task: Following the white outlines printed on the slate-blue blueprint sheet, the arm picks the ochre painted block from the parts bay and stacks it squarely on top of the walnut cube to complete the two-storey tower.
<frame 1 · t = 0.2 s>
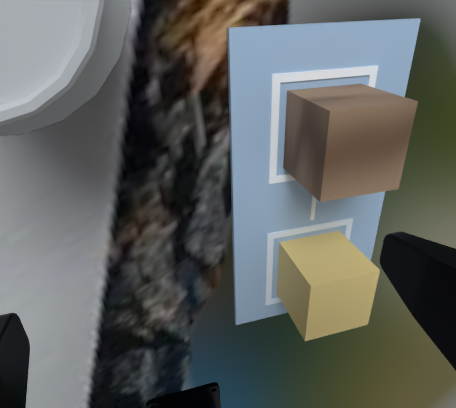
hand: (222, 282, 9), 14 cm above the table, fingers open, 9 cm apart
blueprint sheet: (311, 193, 26), on the table
walnut cube: (320, 126, 23), resting on blueprint sheet
ochre block: (307, 262, 29), resting on blueprint sheet
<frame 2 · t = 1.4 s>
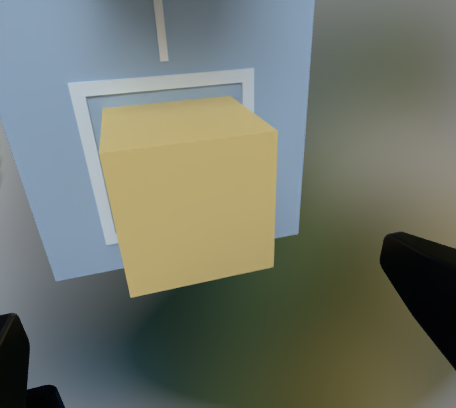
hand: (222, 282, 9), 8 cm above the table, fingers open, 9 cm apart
ochre block: (175, 161, 15), resting on blueprint sheet
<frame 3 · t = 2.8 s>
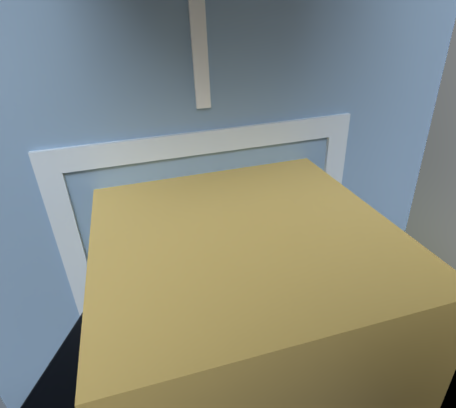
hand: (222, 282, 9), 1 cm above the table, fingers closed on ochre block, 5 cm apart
ochre block: (213, 260, 10), resting on blueprint sheet, touching gripper
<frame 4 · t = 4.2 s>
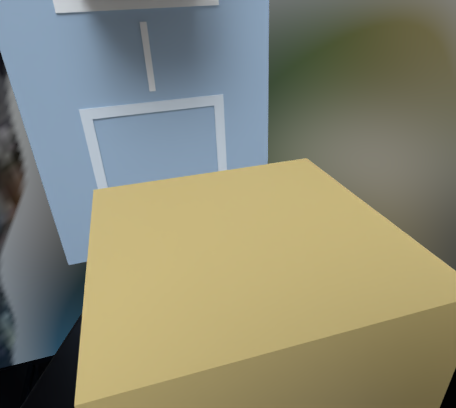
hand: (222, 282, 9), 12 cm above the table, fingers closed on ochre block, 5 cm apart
blueprint sheet: (145, 45, 17), on the table
ochre block: (213, 260, 10), point 11 cm above the table, touching gripper
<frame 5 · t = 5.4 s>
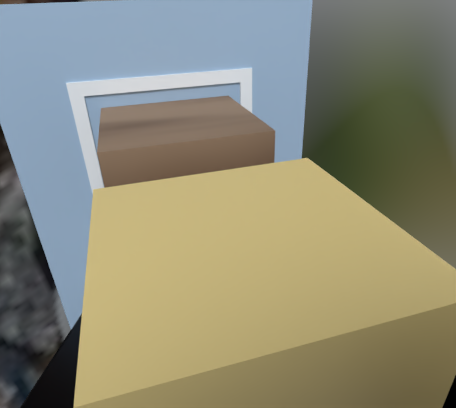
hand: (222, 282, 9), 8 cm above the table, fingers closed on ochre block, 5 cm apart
blueprint sheet: (183, 250, 18), on the table
walnut cube: (173, 160, 15), resting on blueprint sheet
ochre block: (213, 260, 9), point 8 cm above the table, touching gripper
when the fingers open (7 cm above the table, at t = 5.9 s): ochre block drops 1 cm, resting on walnut cube.
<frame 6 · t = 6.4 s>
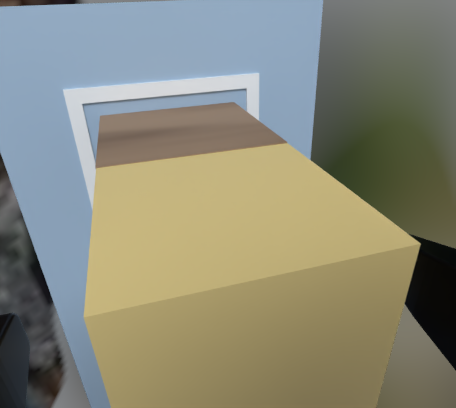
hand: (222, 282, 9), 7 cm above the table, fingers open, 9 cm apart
blueprint sheet: (185, 262, 18), on the table
walnut cube: (176, 170, 15), resting on blueprint sheet, touching ochre block
ochre block: (203, 236, 11), point 5 cm above the table, touching walnut cube
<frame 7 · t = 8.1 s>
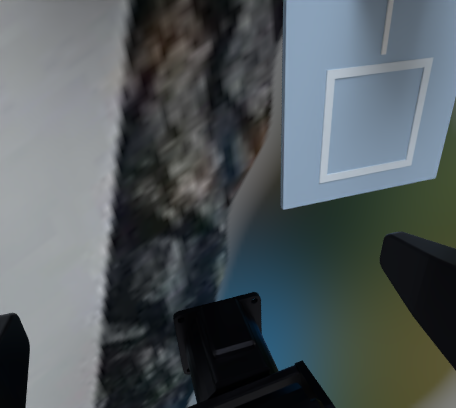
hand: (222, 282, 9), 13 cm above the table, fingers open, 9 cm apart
blueprint sheet: (383, 14, 20), on the table
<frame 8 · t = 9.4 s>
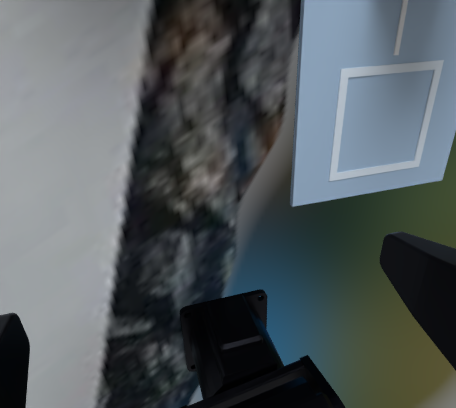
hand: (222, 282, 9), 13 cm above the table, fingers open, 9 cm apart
blueprint sheet: (397, 16, 21), on the table
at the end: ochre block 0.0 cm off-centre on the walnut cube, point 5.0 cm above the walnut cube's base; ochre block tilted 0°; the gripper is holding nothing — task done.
